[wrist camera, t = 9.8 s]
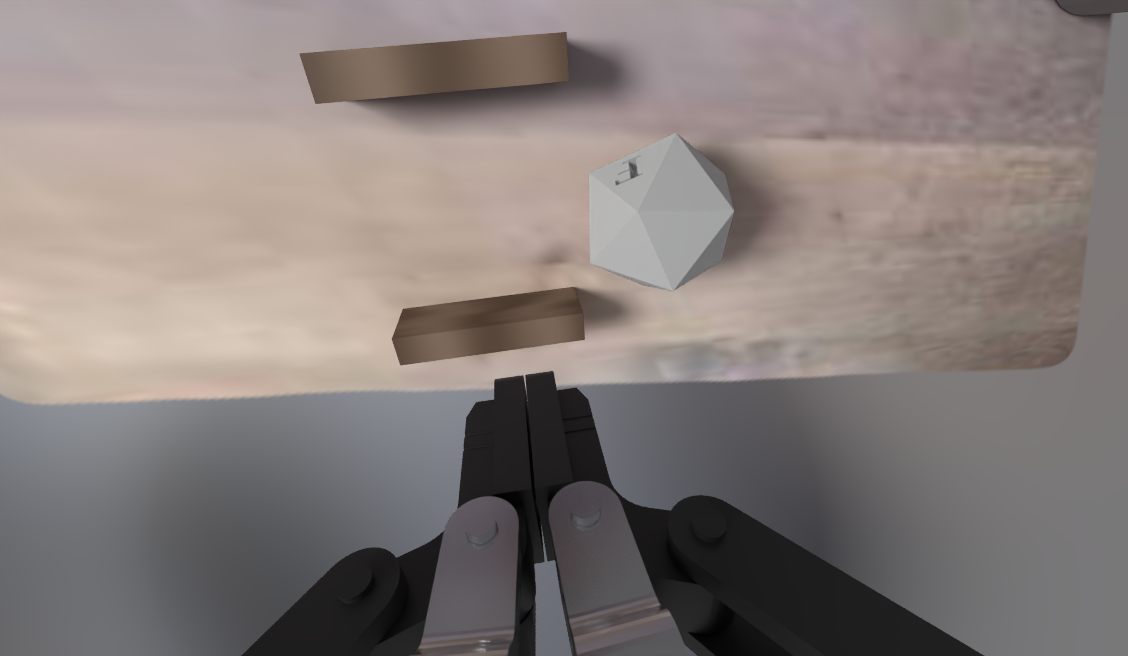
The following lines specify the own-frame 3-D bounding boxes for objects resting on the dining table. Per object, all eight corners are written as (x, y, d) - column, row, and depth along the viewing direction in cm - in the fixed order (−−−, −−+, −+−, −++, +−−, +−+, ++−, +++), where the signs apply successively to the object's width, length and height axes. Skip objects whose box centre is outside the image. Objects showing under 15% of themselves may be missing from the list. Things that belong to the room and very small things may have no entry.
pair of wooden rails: (555, 37, 24) (566, 31, 21) (574, 311, 33) (584, 339, 29) (328, 56, 23) (299, 53, 20) (410, 333, 32) (400, 365, 28)
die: (714, 135, 28) (695, 84, 20) (752, 264, 29) (750, 269, 20) (599, 186, 32) (540, 161, 23) (635, 300, 32) (589, 318, 23)
